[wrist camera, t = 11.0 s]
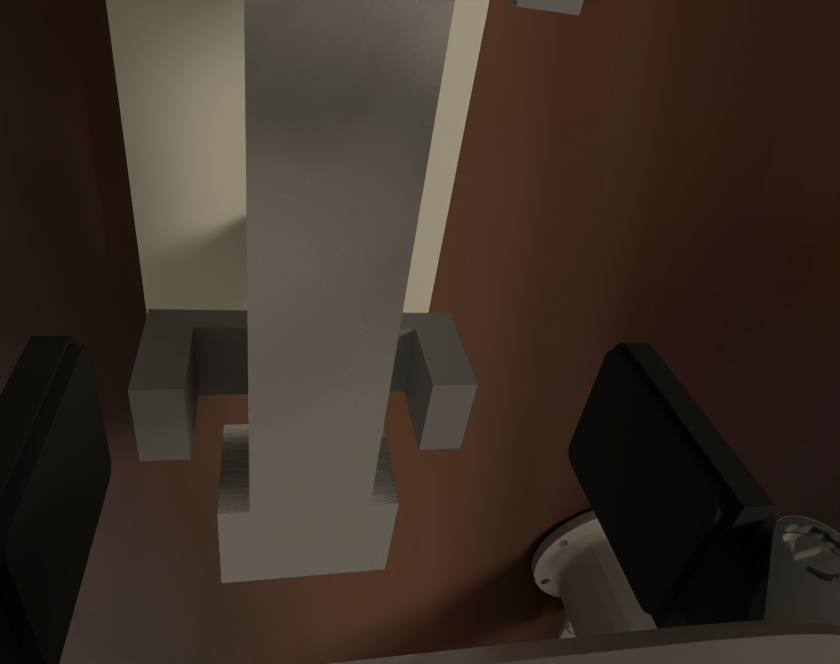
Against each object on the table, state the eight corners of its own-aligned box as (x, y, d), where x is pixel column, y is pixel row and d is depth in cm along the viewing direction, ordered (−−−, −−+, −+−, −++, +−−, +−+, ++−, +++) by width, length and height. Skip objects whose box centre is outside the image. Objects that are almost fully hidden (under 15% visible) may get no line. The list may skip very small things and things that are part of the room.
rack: (410, 363, 37) (465, 565, 27) (159, 365, 34) (111, 597, 24) (563, -462, 19) (944, -851, 8) (36, -642, 15) (-473, -1709, 5)
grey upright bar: (371, 486, 27) (384, 569, 24) (226, 493, 26) (221, 583, 23) (547, -576, 11) (660, -744, 8) (174, -722, 9) (128, -1006, 6)
